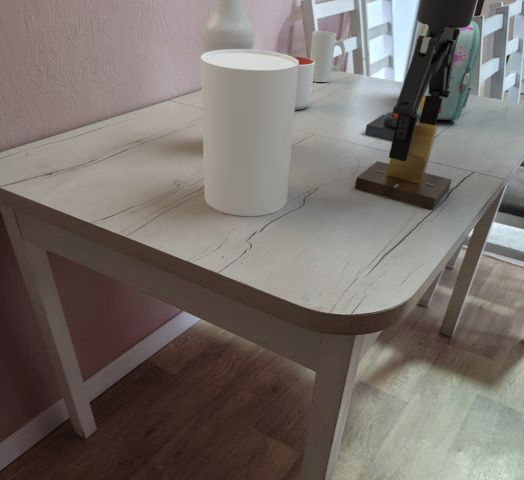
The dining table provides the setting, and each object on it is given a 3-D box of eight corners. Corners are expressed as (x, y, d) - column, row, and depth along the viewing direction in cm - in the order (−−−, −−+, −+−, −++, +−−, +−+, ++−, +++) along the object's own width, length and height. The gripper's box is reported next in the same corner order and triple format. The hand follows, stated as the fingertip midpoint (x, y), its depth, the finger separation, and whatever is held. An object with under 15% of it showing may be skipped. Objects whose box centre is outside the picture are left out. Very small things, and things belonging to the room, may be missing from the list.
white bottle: (257, 153, 96) (265, -25, 78) (210, 156, 93) (207, -28, 75) (243, 137, 103) (247, -31, 84) (199, 140, 100) (193, -33, 82)
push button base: (430, 135, 110) (435, 116, 108) (416, 147, 104) (421, 127, 101) (380, 124, 115) (384, 106, 112) (364, 135, 108) (368, 115, 106)
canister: (187, 196, 80) (180, 55, 66) (244, 175, 87) (247, 45, 74) (247, 224, 73) (252, 75, 60) (303, 199, 81) (318, 62, 68)
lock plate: (448, 190, 87) (452, 178, 86) (432, 210, 80) (435, 197, 79) (375, 171, 92) (377, 159, 91) (354, 188, 85) (356, 176, 84)
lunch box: (464, 129, 115) (498, 21, 101) (421, 126, 115) (449, 18, 101) (436, 99, 135) (460, 5, 121) (399, 96, 135) (419, 2, 121)
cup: (276, 98, 127) (279, 54, 121) (313, 103, 126) (318, 59, 119) (265, 108, 120) (268, 61, 114) (305, 113, 118) (309, 66, 112)
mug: (305, 81, 143) (310, 33, 135) (309, 76, 148) (314, 30, 140) (340, 85, 141) (346, 37, 133) (342, 80, 146) (349, 33, 138)
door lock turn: (423, 180, 84) (438, 124, 78) (419, 184, 83) (435, 127, 77) (390, 172, 86) (402, 117, 80) (386, 175, 85) (399, 119, 79)
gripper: (448, -16, 77) (413, 125, 91) (394, -8, 61) (361, 163, 74) (496, -11, 74) (453, 134, 88) (454, -1, 58) (408, 175, 72)
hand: (411, 147), depth 81 cm, fingers open, 13 cm apart
